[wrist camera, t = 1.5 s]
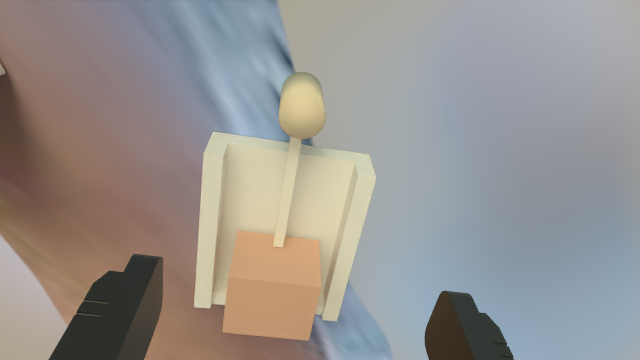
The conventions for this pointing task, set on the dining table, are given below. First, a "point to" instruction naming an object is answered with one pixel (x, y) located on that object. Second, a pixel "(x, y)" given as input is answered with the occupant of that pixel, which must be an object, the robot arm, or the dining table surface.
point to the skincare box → (1, 70)
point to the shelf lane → (263, 205)
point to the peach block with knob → (280, 241)
